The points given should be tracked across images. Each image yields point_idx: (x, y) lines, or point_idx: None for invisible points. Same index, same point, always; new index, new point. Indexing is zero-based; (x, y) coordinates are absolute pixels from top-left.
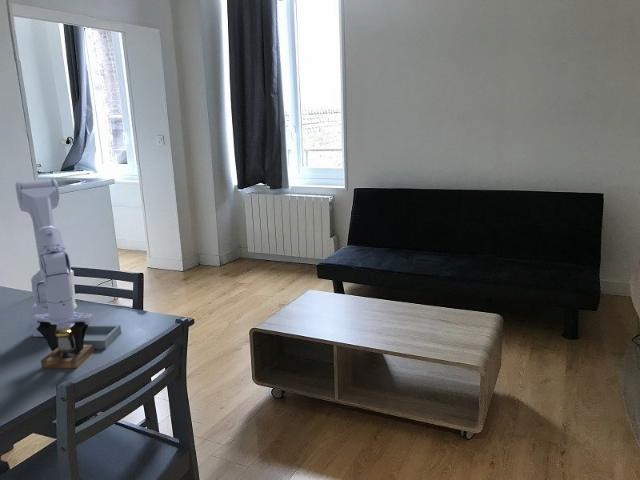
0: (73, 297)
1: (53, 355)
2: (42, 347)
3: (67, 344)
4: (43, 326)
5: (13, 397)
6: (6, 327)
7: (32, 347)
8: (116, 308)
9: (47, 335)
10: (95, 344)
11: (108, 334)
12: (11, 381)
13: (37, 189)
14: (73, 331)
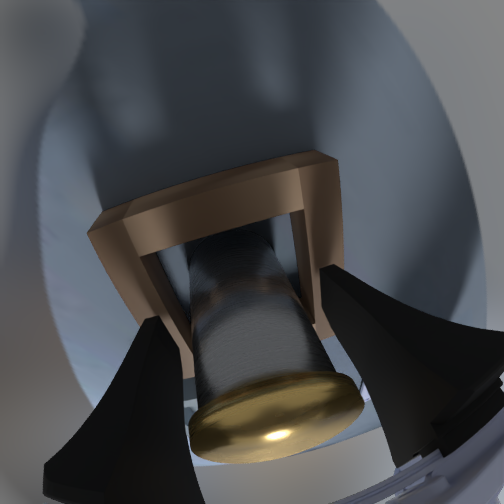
0: None
1: (307, 244)
2: (406, 298)
3: (205, 334)
4: (477, 396)
5: None
6: (485, 317)
7: (432, 285)
8: (311, 448)
9: (407, 340)
10: (191, 383)
11: (187, 427)
12: (359, 5)
13: None
14: (94, 466)
